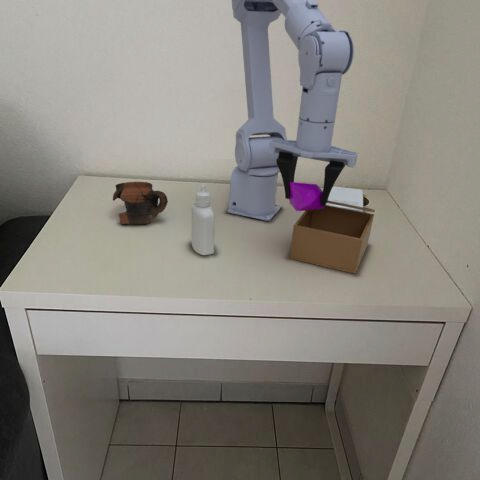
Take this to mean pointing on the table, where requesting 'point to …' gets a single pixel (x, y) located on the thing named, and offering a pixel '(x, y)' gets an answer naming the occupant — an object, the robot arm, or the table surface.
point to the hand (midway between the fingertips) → (305, 200)
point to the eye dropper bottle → (202, 223)
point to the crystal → (305, 196)
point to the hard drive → (346, 197)
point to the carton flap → (351, 206)
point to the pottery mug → (139, 202)
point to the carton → (331, 237)
